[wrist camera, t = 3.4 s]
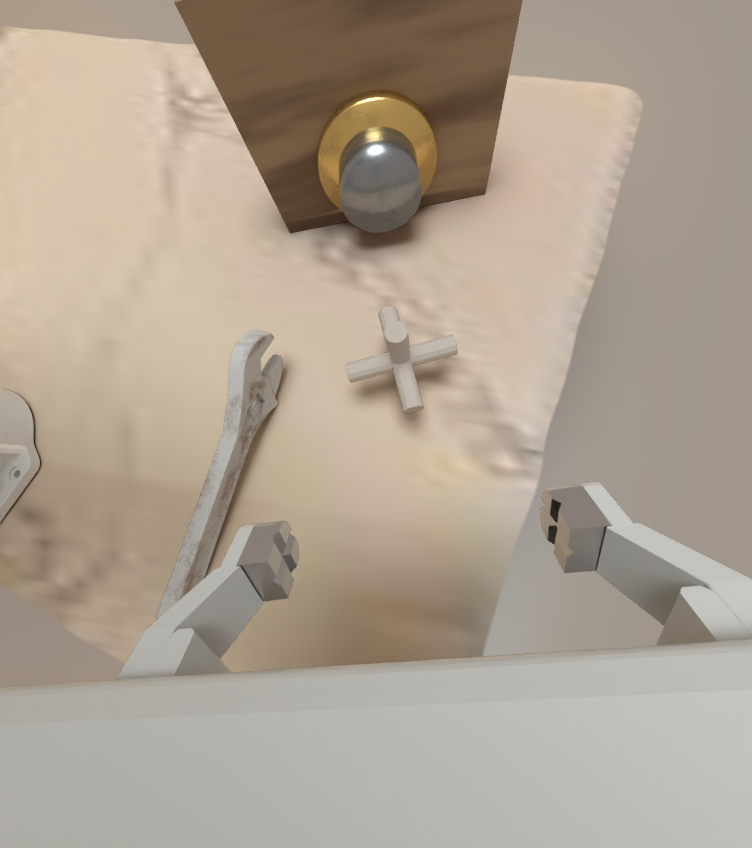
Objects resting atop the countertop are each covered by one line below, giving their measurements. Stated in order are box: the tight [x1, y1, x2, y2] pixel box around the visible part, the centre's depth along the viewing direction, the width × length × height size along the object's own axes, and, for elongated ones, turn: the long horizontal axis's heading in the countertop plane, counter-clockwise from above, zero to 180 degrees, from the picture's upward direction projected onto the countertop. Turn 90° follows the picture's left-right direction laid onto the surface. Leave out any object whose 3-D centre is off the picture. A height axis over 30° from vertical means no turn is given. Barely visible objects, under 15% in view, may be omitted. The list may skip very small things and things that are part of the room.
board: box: [175, 0, 522, 233], centre depth 32 cm, size 10×24×20 cm, turn 95°
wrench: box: [155, 330, 283, 622], centre depth 33 cm, size 8×2×30 cm
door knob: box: [318, 90, 437, 233], centre depth 33 cm, size 5×12×12 cm, turn 95°
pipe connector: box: [346, 306, 457, 413], centre depth 30 cm, size 10×10×10 cm
